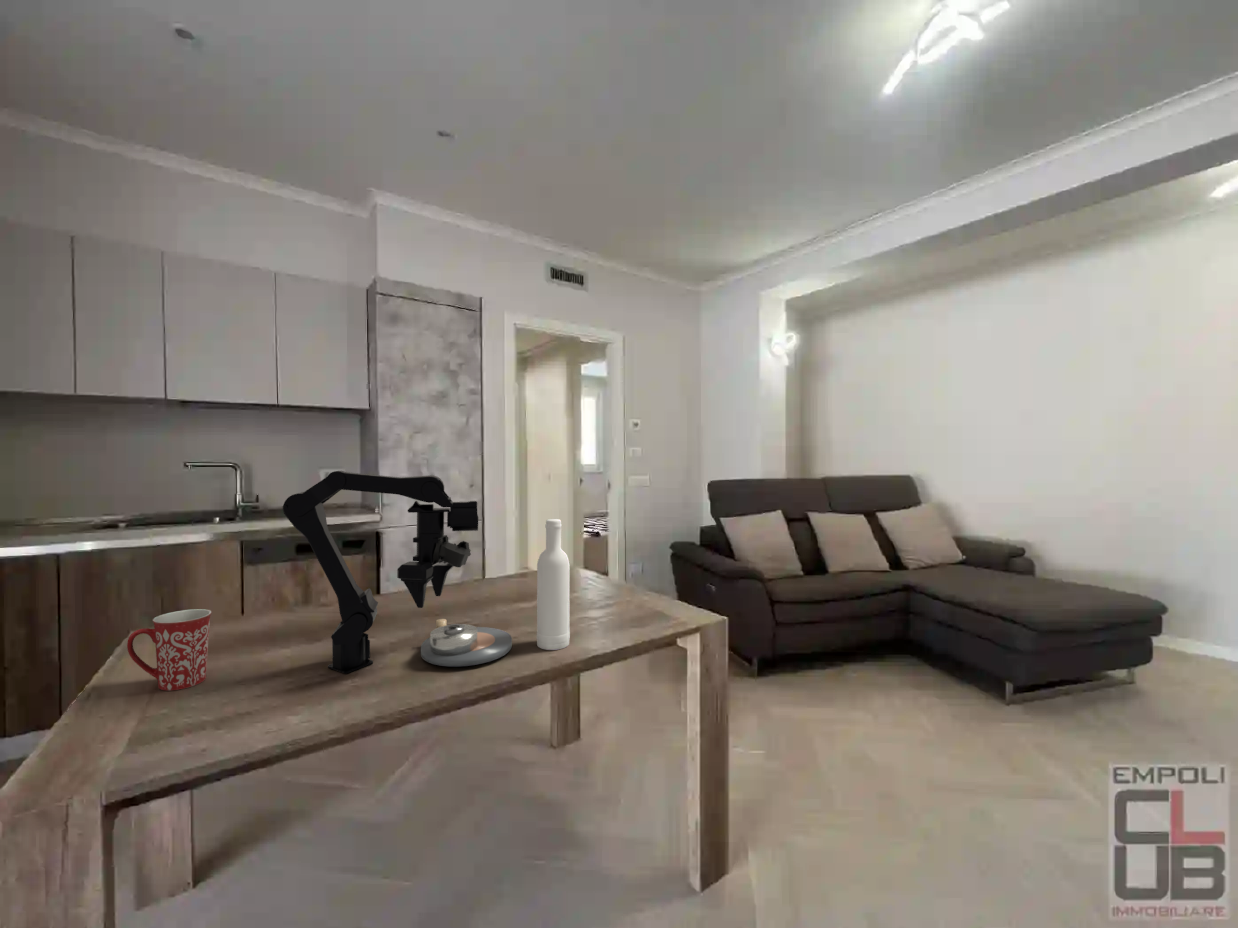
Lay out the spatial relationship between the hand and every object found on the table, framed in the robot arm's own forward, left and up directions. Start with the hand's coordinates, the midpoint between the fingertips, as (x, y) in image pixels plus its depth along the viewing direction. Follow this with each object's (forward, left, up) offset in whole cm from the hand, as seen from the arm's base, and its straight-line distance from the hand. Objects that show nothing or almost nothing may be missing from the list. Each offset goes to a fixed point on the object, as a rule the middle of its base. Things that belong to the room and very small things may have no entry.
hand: (429, 601), depth 117 cm
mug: (-35, +33, -13) cm, 49 cm away
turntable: (+6, -5, -13) cm, 15 cm away
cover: (+2, -5, -10) cm, 12 cm away
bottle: (+20, -19, -13) cm, 31 cm away
